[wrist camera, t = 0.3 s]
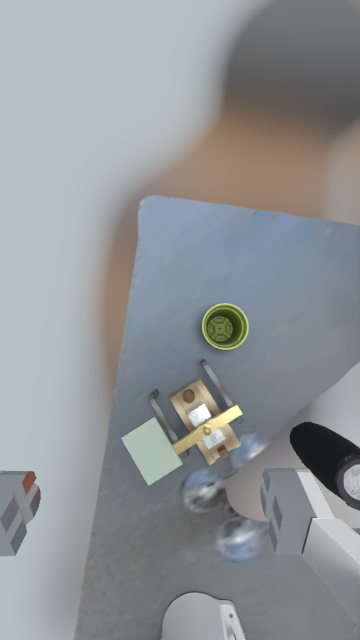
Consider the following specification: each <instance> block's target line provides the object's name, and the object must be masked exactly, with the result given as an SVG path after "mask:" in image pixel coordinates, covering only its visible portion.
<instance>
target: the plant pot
mask: <svg viewBox="0 0 360 640" xmlns="http://www.w3.org/2000/svg"><path fill="white" fill-rule="evenodd" d="M216 318H221V319H217V320H216ZM229 325H230V326H231V330H230V331H229ZM209 327H211V328H210V330H211V333H210V331H209ZM219 328H221V330H219ZM248 329H249V325H248V320H247V318H246V316H245V314H244V313H243V311H242V310H241V309H240V308H238V307H237V306H235V305H232V304H228V303H222V304H218V305H215V306H213V307H212V308H211V309H209V310H208V311H207V313H206V314H205V316H204V318H203V322H202V331H203V334H204V336H205V338H206V340H207V341H208V342H209V343H210V344H211V345H212V346H214V347H216V348H218V349H222V350H229V349H233V348H236V347H238V346H239V345H240V344H242V343H243V341H244V340H245V339H246V337H247V334H248ZM218 338H224V339H221V340H219V339H218Z"/></svg>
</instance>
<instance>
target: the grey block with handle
mask: <svg viewBox="0 0 360 640" xmlns="http://www.w3.org/2000/svg"><path fill="white" fill-rule="evenodd" d="M187 415H188V416H189V418H190V420H191V421H192V423H193V425H194V426H195V428H198V427H199V426H201V425H203V424H204V423H206V422H207V421H209V420H210V419H212V418H213V415H212V414H211V412H210V411H209V409H208V407H207V406H206V404H205V402H204V401H203V400H202V401H200V402H199V403H197V404H195V405H194V406H192V407H191V408H189V409H188V410H187ZM224 439H225V436H224V434H223V432H222V430H221V428H219V429H218V430H216V431H215V432H213V433H211V434H210V435H208V436H207V437H205V438H204V439H202V440H203V441H204V443H205V444H206V446H207V448H208V449H210V448H212V447H213V446H215V445H216V444H218V443H219V442H221V441H223V440H224Z"/></svg>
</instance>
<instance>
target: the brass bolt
mask: <svg viewBox="0 0 360 640" xmlns="http://www.w3.org/2000/svg"><path fill="white" fill-rule="evenodd" d="M241 414H242V412H241V411H240V409H239V407H238V406H237V404H236V403H235V404H234V405H232V406H231V407H229V408H228V409H226V410H224V411H223V412H221V413H220V414H218V415H217V416H215V417H213V418H212V419H210V420H209V421H207V422H206V423H204V424H203V425H201V426H199V427H198V428H196V429H195V430H193V431H192V432H190V433H188V434H187V435H185V436H184V437H182V438H181V439H179V440H177V441H176V442H174V443H173V444H172V446H171V447H172V448H173V450H174V452H175V453H176V455H179V454H180V453H182V452H183V451H185V450H186V449H188V448H190V447H191V446H193V445H194V444H196V443H197V442H199V441H201V440H202V439H204V438H205V437H207V436H208V435H210V434H211V433H213V432H215V431H216V430H218V429H219V428H221V427H222V426H224V425H226V424H227V423H229V422H230V421H232V420H233V419H235V418H237V417H238V416H240V415H241Z"/></svg>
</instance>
